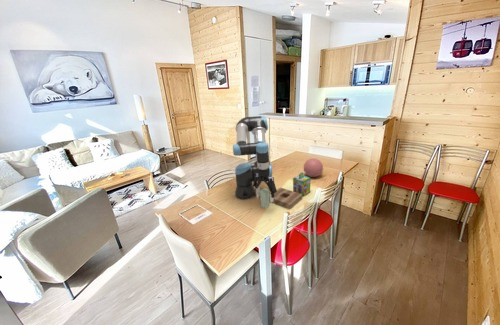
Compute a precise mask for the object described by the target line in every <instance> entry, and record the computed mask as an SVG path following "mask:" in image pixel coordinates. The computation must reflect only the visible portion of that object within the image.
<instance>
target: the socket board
mask: <svg viewBox="0 0 500 325" xmlns="http://www.w3.org/2000/svg"><path fill="white" fill-rule="evenodd" d="M276 190H277V192H276V193H274V197H273V198H274V201H273V202H270V194H269V203H272V204H274V205H277V206H280V207H282V208H285V209H286V210H291V209H292V208H293V207H295V206H296V205H297V204H298V203H299V202H300V201H302V200H303V196H302V194H300V193H296V192H293V191H292V190H290V189H286V188H283V187H279V188H276Z"/></svg>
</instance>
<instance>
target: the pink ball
mask: <svg viewBox="0 0 500 325" xmlns="http://www.w3.org/2000/svg"><path fill="white" fill-rule="evenodd" d="M323 170H324V165H323V163H322V162H321V161H320V159H318V158H310V159H308V160H306V161H305V162H304V164H303V171H304V173H305V174H306V175H307V177H309V178H316V177H319V176H320V175H321V174H322V172H323Z"/></svg>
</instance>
